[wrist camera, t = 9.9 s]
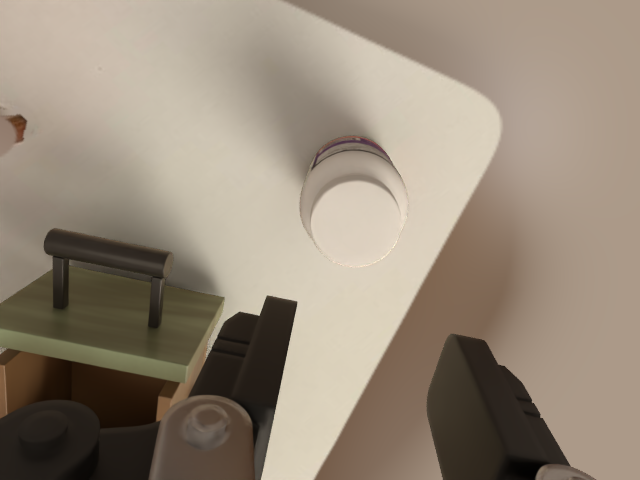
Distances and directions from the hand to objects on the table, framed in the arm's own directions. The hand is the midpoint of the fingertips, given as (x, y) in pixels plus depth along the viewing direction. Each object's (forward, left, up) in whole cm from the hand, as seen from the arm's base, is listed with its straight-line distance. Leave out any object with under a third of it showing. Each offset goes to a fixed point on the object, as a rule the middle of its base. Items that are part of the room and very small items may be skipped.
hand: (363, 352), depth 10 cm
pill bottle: (0, 0, -19) cm, 19 cm away
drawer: (+8, -17, -18) cm, 26 cm away
